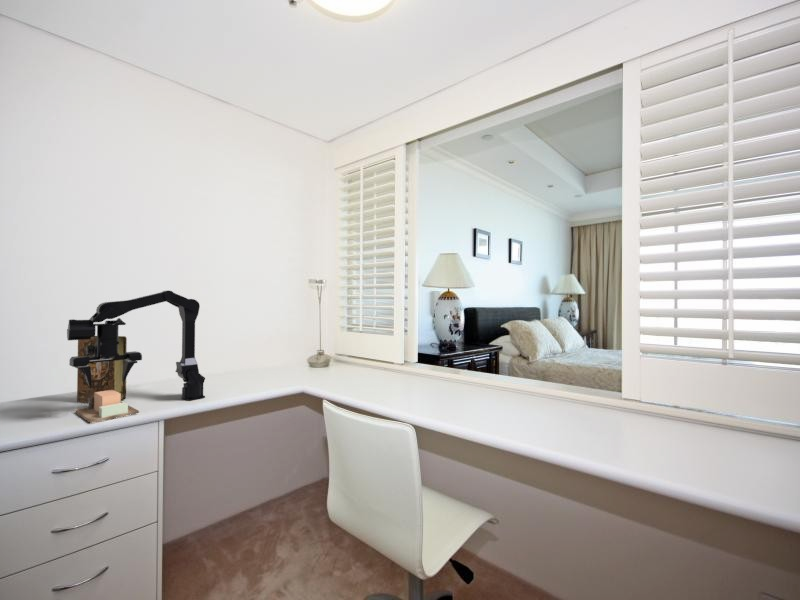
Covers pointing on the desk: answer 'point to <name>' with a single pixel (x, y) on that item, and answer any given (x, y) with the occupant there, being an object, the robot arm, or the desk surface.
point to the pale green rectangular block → (113, 409)
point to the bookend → (91, 403)
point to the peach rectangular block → (106, 398)
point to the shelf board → (94, 416)
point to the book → (101, 372)
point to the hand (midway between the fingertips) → (107, 383)
